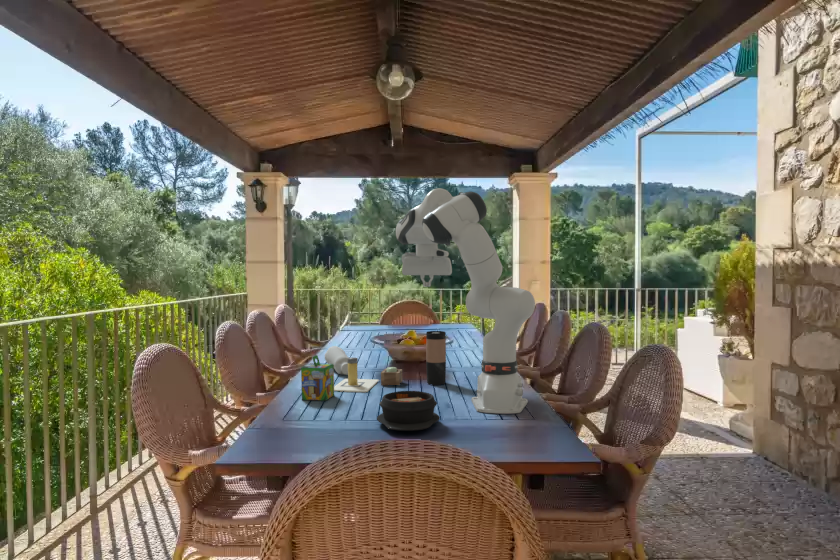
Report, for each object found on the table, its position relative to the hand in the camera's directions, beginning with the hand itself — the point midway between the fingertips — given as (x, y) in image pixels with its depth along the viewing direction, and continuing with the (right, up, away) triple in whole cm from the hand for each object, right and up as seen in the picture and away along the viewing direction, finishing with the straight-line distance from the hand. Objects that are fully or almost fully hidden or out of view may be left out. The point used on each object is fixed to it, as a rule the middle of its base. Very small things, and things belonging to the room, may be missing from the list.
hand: (426, 286), depth 242 cm
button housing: (-14, -38, -11) cm, 41 cm away
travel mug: (+3, -38, -10) cm, 39 cm away
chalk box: (-39, -39, -33) cm, 64 cm away
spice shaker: (-29, -37, -14) cm, 49 cm away
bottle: (-38, -37, +16) cm, 55 cm away
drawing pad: (-28, -38, -14) cm, 49 cm away
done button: (-14, -38, -10) cm, 41 cm away
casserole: (-6, -40, -66) cm, 78 cm away
